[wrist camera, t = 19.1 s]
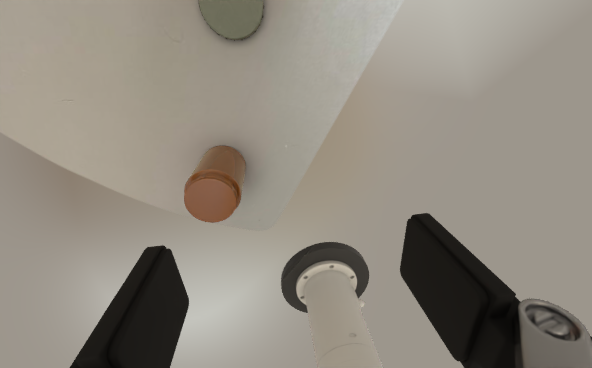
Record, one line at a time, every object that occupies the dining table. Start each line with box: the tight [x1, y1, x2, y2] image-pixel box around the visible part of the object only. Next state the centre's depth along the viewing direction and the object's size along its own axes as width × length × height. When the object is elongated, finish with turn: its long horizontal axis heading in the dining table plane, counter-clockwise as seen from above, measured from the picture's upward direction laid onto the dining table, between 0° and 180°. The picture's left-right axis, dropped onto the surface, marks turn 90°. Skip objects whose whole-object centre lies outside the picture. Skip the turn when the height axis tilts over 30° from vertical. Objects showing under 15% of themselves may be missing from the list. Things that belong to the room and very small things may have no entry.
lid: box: [198, 0, 264, 41], centre depth 29 cm, size 7×7×2 cm
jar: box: [184, 146, 246, 222], centre depth 33 cm, size 6×6×11 cm
